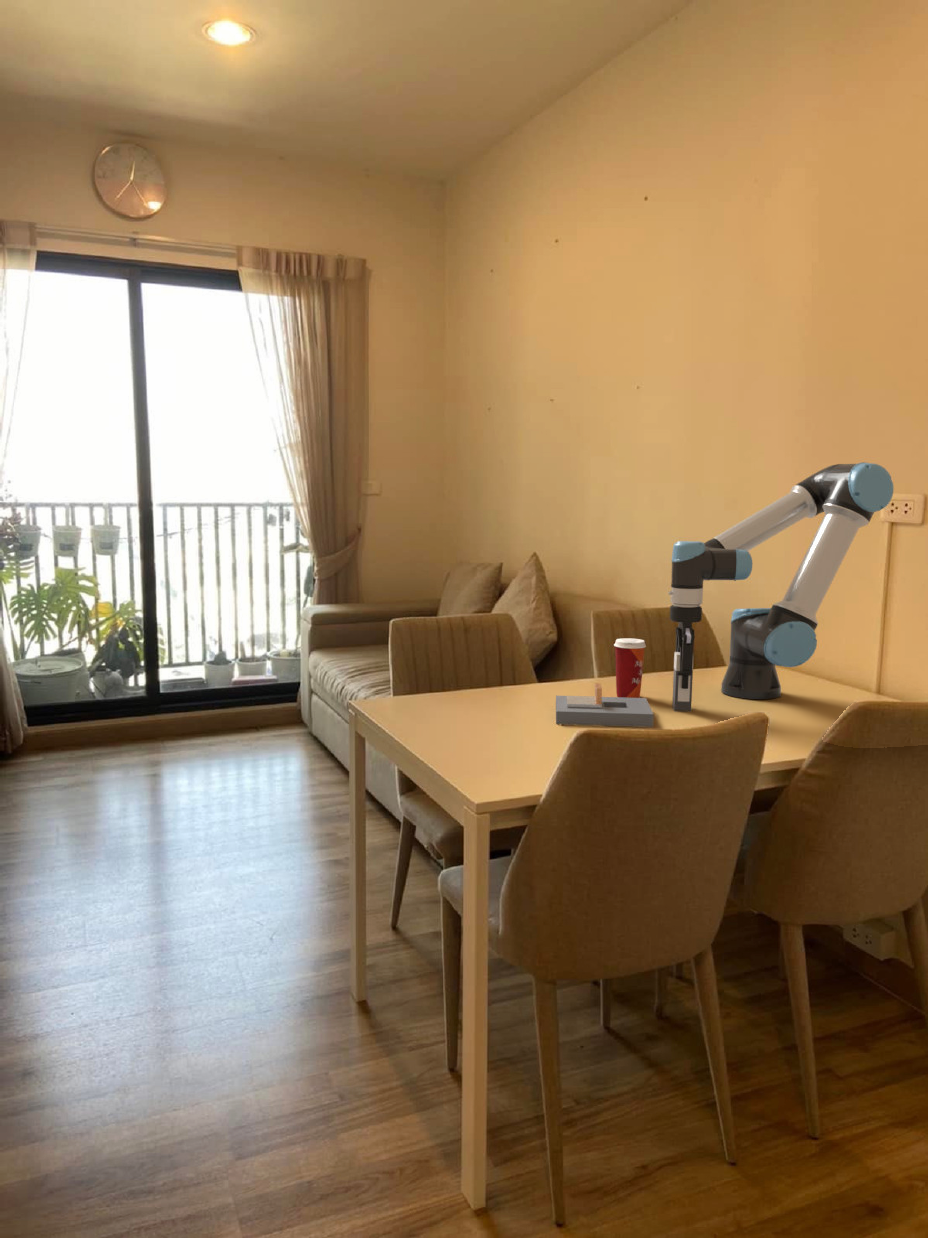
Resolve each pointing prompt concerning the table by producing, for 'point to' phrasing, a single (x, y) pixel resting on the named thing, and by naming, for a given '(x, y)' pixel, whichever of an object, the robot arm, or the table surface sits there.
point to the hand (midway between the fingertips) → (682, 698)
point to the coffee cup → (629, 666)
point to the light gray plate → (586, 699)
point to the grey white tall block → (675, 703)
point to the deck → (607, 712)
